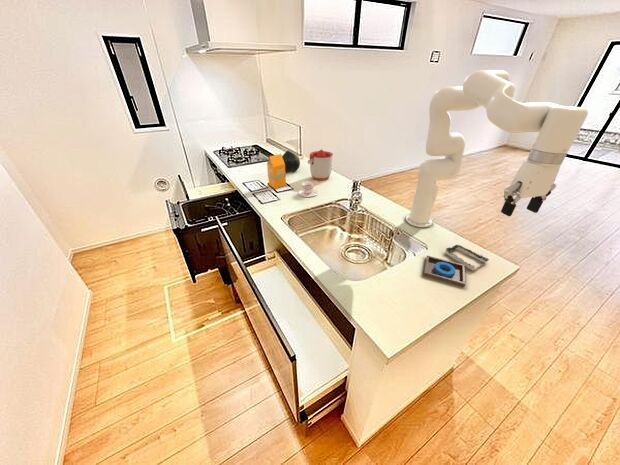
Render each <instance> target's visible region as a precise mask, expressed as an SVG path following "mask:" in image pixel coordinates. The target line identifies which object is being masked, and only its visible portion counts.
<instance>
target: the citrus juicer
mask: <svg viewBox="0 0 620 465" xmlns="http://www.w3.org/2000/svg"><path fill="white" fill-rule="evenodd" d="M333 156H334V154H333V152H330V151H327V150H323V149H320V150H315V151H311V152H310V153H309V159H308V160H307V164H308V165H309V170H310V174H311V178H312V179H313V180H315V181H317V182H319V181H326V180H329V179H330V177H331V174H332V170H333Z"/></svg>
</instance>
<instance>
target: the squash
mask: <svg viewBox="0 0 620 465" xmlns="http://www.w3.org/2000/svg"><path fill="white" fill-rule="evenodd" d="M282 158H283V160H284V163H285V173H287V172H290V171H291V172H297V171H298V170H299V168H300V165H301V160H300V157H299V156H298V155H297V154H295V153H293V152H292V151H290V150H286V151H285V152H284V153H283V154H282Z"/></svg>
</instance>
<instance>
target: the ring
mask: <svg viewBox="0 0 620 465" xmlns="http://www.w3.org/2000/svg"><path fill="white" fill-rule="evenodd" d="M440 268H445V269H447V270H448V272H446V271H443V270H441V269H440ZM434 271H435V272H436V274H438V275H440V276H443V277H447V278H451V277H453V276H454V274H455V268H454V267H453V266H452V265H450V264H449V263H445V262H438V263H436V264H435V266H434Z"/></svg>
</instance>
